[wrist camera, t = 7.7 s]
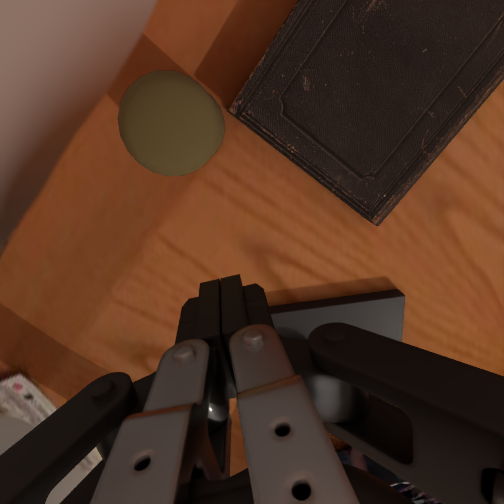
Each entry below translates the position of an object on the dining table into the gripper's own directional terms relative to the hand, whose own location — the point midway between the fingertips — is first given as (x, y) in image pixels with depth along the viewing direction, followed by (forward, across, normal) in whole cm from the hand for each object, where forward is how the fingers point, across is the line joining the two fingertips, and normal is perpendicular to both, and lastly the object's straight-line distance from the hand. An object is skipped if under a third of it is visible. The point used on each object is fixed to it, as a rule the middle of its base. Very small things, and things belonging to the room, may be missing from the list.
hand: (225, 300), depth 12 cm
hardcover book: (+17, -16, -9) cm, 25 cm away
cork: (+18, +1, -6) cm, 19 cm away
